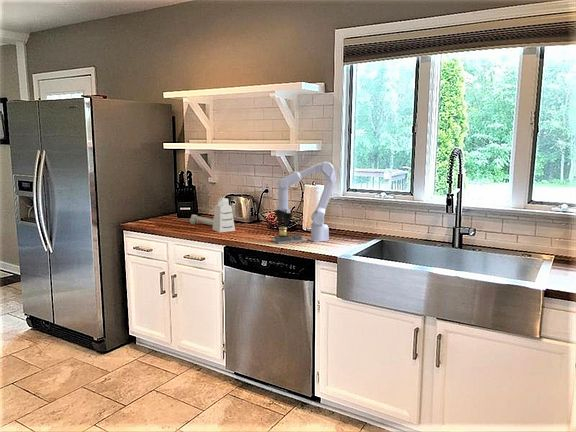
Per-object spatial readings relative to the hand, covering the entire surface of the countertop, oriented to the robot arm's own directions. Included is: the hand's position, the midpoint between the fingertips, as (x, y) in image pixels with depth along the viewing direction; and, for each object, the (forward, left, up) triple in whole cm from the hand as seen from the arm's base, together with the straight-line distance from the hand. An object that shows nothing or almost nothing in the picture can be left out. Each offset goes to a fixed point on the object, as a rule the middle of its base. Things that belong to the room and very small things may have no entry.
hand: (283, 224), depth 266 cm
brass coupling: (+1, +2, -8) cm, 9 cm away
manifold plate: (-3, +2, -9) cm, 10 cm away
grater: (+21, -44, -10) cm, 50 cm away
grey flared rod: (+27, -68, -10) cm, 73 cm away
